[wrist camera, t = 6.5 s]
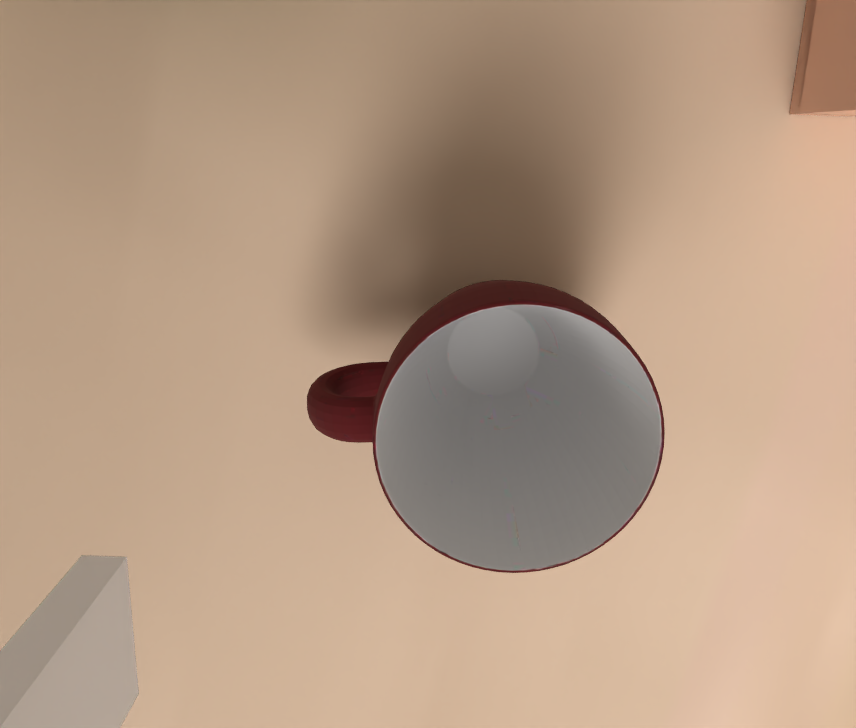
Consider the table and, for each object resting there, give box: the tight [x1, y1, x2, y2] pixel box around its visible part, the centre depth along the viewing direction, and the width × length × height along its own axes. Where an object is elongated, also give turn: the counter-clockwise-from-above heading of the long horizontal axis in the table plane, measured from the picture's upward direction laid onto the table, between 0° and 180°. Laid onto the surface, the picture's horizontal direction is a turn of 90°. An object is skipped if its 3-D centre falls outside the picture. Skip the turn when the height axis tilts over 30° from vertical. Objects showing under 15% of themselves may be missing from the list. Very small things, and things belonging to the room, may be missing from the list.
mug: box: [307, 280, 664, 573], centre depth 26 cm, size 10×8×10 cm
